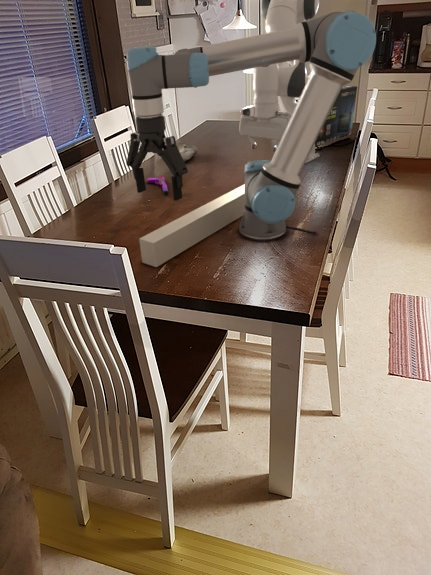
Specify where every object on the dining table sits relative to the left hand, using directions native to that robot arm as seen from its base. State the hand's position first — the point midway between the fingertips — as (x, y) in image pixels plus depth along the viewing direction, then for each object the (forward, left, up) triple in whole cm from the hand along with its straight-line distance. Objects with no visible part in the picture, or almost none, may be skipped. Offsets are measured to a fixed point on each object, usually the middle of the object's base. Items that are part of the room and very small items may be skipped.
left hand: (159, 195), depth 128 cm
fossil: (+57, -91, -19) cm, 109 cm away
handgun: (+39, -50, -19) cm, 67 cm away
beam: (-3, -29, -19) cm, 35 cm away
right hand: (-6, -57, -1) cm, 58 cm away
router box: (0, -146, -19) cm, 148 cm away
